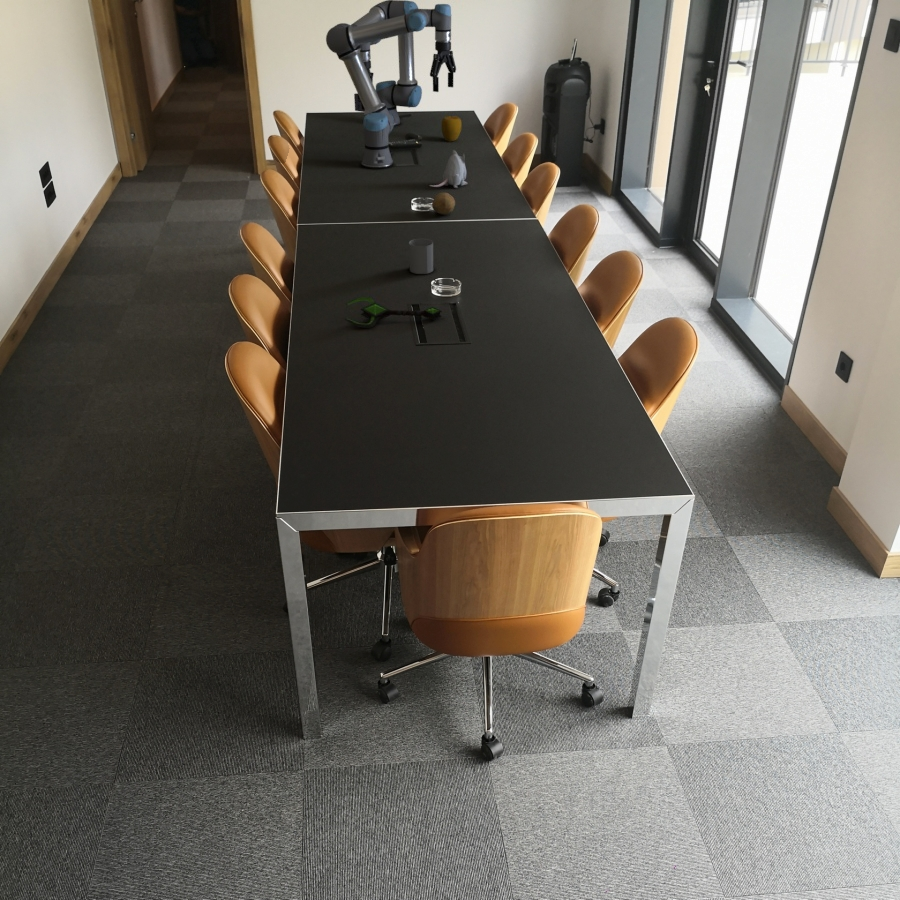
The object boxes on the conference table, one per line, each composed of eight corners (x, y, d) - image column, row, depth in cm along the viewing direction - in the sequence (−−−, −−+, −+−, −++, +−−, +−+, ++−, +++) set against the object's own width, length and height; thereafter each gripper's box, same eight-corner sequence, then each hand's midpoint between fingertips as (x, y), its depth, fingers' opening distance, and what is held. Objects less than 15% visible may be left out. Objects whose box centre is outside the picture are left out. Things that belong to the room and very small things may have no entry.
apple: (461, 143, 465) (461, 118, 458) (441, 143, 466) (441, 117, 459) (461, 138, 475) (461, 113, 468) (441, 138, 475) (441, 113, 468)
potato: (453, 208, 369) (453, 189, 365) (456, 218, 357) (456, 199, 353) (431, 208, 368) (430, 189, 364) (432, 218, 356) (432, 199, 352)
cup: (409, 265, 311) (408, 238, 306) (432, 265, 312) (431, 238, 307) (410, 274, 304) (409, 246, 299) (433, 273, 305) (433, 246, 299)
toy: (472, 184, 399) (472, 151, 391) (436, 195, 384) (436, 161, 376) (457, 180, 404) (458, 147, 396) (422, 191, 389) (421, 157, 381)
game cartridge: (354, 111, 455) (352, 93, 450) (357, 109, 457) (355, 92, 452) (375, 114, 449) (374, 96, 444) (378, 112, 451) (377, 95, 446)
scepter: (441, 292, 273) (345, 289, 270) (442, 322, 265) (344, 320, 263) (440, 305, 277) (346, 303, 275) (441, 335, 270) (344, 333, 268)
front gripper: (435, 45, 396) (436, 94, 408) (463, 38, 414) (463, 86, 426) (422, 43, 399) (422, 92, 411) (450, 37, 417) (450, 84, 429)
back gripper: (360, 63, 432) (363, 112, 445) (378, 58, 443) (380, 107, 456) (348, 61, 436) (351, 110, 448) (366, 57, 446) (368, 105, 459)
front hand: (443, 89), depth 418 cm, fingers open, 13 cm apart
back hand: (365, 108), depth 452 cm, fingers closed on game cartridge, 2 cm apart
